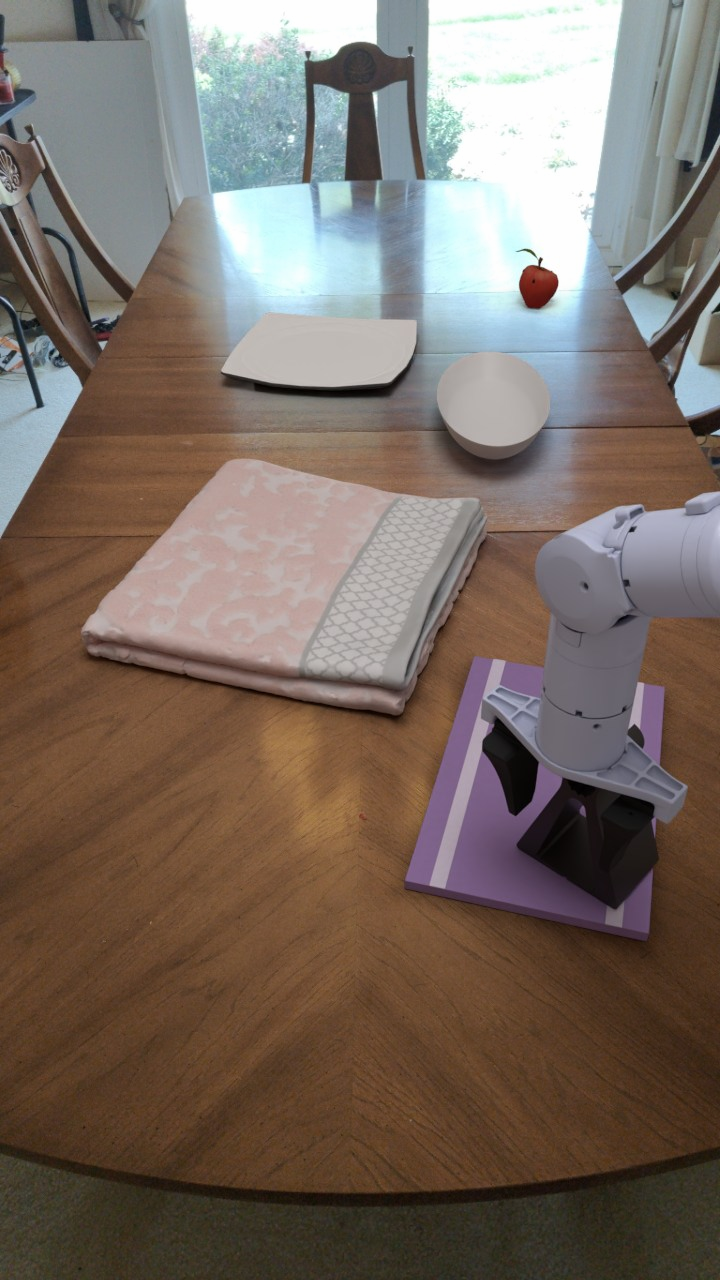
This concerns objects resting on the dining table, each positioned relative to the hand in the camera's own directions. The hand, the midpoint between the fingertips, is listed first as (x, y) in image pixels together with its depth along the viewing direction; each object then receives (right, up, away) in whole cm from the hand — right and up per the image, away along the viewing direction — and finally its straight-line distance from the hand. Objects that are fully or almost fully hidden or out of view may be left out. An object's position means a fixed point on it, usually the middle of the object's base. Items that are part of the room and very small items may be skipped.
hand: (564, 833), depth 70 cm
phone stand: (+3, -3, +6) cm, 8 cm away
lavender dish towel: (+1, +2, +14) cm, 14 cm away
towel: (-21, +19, +37) cm, 47 cm away
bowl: (+3, +42, +65) cm, 78 cm away
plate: (-20, +58, +87) cm, 107 cm away
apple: (+16, +73, +105) cm, 129 cm away
